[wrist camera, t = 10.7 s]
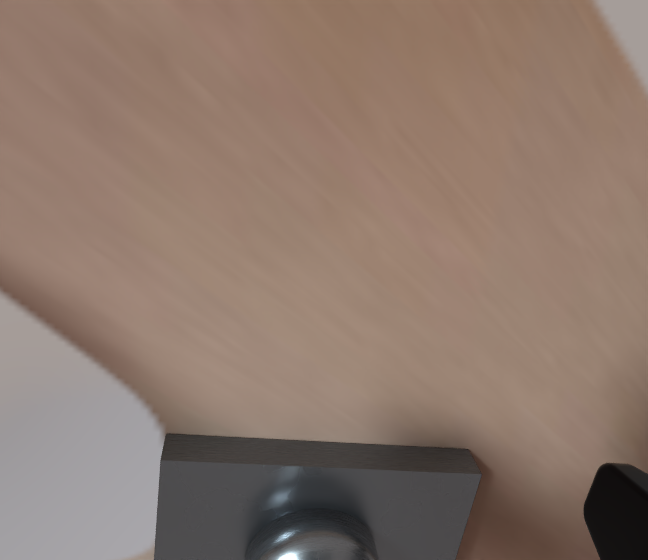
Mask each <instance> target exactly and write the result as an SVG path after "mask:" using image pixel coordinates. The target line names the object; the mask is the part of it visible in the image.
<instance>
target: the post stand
mask: <svg viewBox="0 0 648 560" xmlns="http://www.w3.org/2000/svg"><path fill="white" fill-rule="evenodd" d="M160 463H161V464H160V477H159V494H158V508H157V523H156V538H155V553H154V560H455V559H456V556H457V553H458V549H459V546H460V543H461V540H462V537H463V533H464V530H465V527H466V524H467V521H468V517H469V514H470V511H471V508H472V504H473V501H474V498H475V495H476V492H477V488H478V485H479V482H480V479H481V476H482V474H481V472H480V470H479V468H478V466H477V464H476V463H475V461H474V459H473V457H472V455H471V453H470V452H469V450H468V449H453V448H434V447H414V446H395V445H375V444H356V443H336V442H317V441H298V440H278V439H259V438H239V437H220V436H200V435H181V434H166V436H165V441H164V446H163V451H162V456H161V462H160Z"/></svg>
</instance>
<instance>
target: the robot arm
mask: <svg viewBox="0 0 648 560" xmlns="http://www.w3.org/2000/svg"><path fill="white" fill-rule="evenodd" d="M584 518H585V522H586V525H587V527H588V530H589V532H590V535H591V537H592V540H593V542H594V544H595V547H596V549H597V552H598V554H599V557H600V559H601V560H648V474H647V473H645V472H643V471H641V470H640V469H638V468H636V467H634V466H632V465H629V464H621V463H605V464H603V465H601V466H600V467H599V469H598V470H597V473H596V475H595V478H594V480H593V483H592V485H591V488H590V490H589V493H588V495H587V498H586V500H585V503H584Z"/></svg>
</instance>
